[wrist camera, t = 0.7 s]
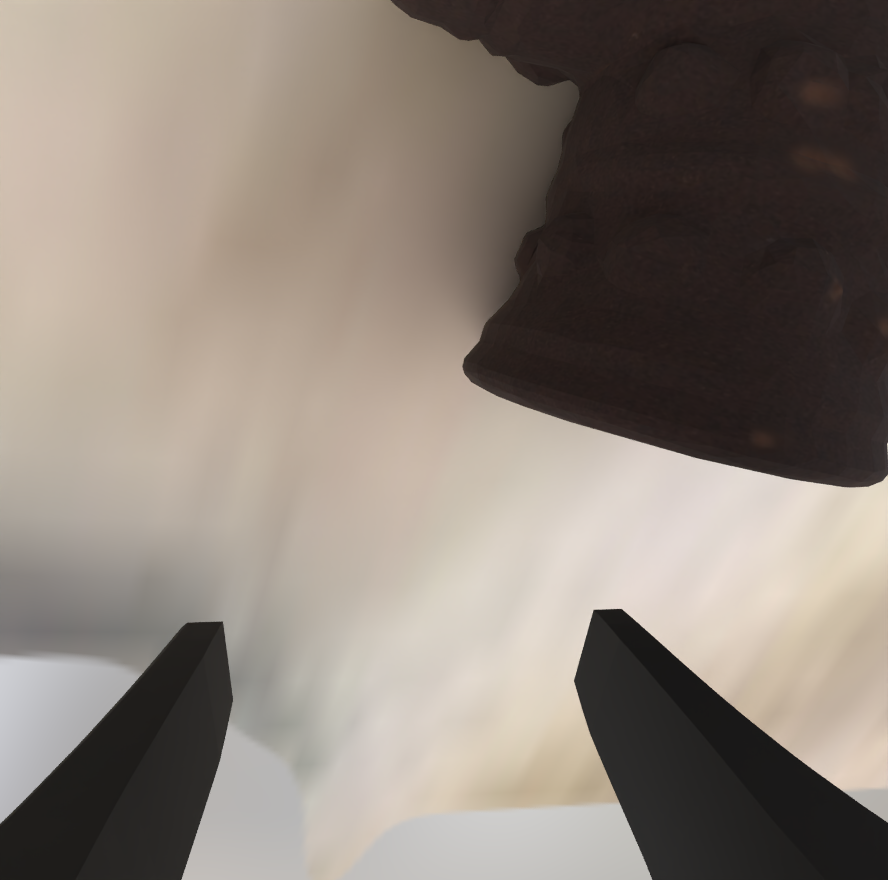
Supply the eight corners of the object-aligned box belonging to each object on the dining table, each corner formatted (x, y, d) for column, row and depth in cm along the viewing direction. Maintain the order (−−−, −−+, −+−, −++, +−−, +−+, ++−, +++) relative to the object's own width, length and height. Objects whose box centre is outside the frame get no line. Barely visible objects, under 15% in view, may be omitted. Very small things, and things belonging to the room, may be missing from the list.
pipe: (669, -1688, 3) (292, 384, 7) (1425, -333, 8) (984, 524, 11) (415, -243, 13) (308, 336, 16) (829, 9, 17) (681, 423, 20)
